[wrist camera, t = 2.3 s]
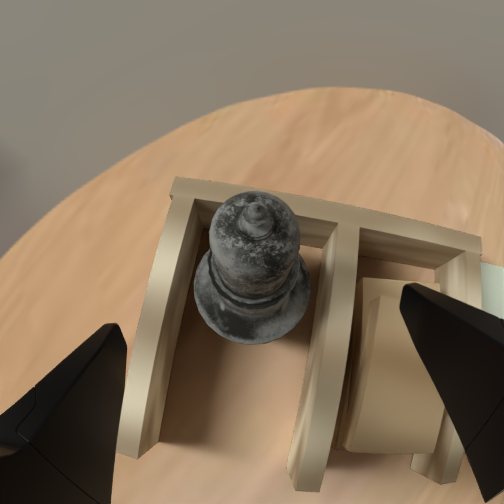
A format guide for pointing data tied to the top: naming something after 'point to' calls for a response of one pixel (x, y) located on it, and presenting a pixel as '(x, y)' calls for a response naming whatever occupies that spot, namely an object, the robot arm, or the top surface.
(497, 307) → the sage mat
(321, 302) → the birch rack
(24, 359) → the top surface
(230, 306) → the grey rounded tall piece
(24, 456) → the robot arm
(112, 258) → the top surface
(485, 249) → the top surface
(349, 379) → the offcut stack
